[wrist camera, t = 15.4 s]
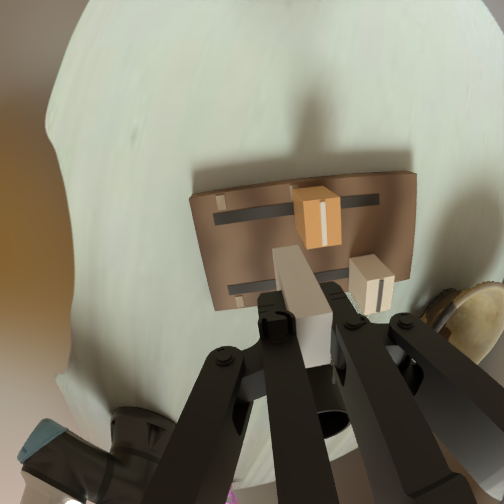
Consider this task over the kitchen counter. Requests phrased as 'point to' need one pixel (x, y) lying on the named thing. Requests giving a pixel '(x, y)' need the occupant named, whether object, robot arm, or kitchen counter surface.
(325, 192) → the orange fader knob
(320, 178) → the console board
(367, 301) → the cream fader knob
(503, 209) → the kitchen counter surface
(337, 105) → the kitchen counter surface
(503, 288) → the bowl
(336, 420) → the mug
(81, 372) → the kitchen counter surface
